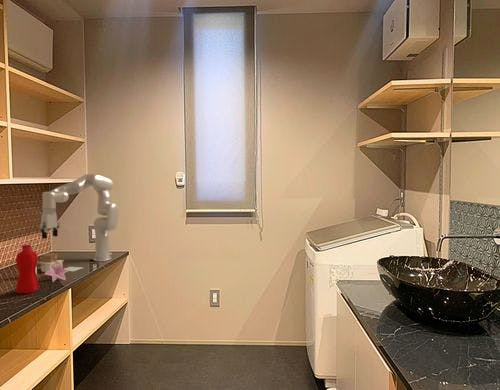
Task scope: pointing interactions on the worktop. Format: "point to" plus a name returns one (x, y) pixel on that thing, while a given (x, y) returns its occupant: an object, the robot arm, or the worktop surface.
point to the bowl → (46, 267)
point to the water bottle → (27, 270)
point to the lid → (49, 259)
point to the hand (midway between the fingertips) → (49, 237)
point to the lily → (57, 272)
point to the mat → (73, 268)
